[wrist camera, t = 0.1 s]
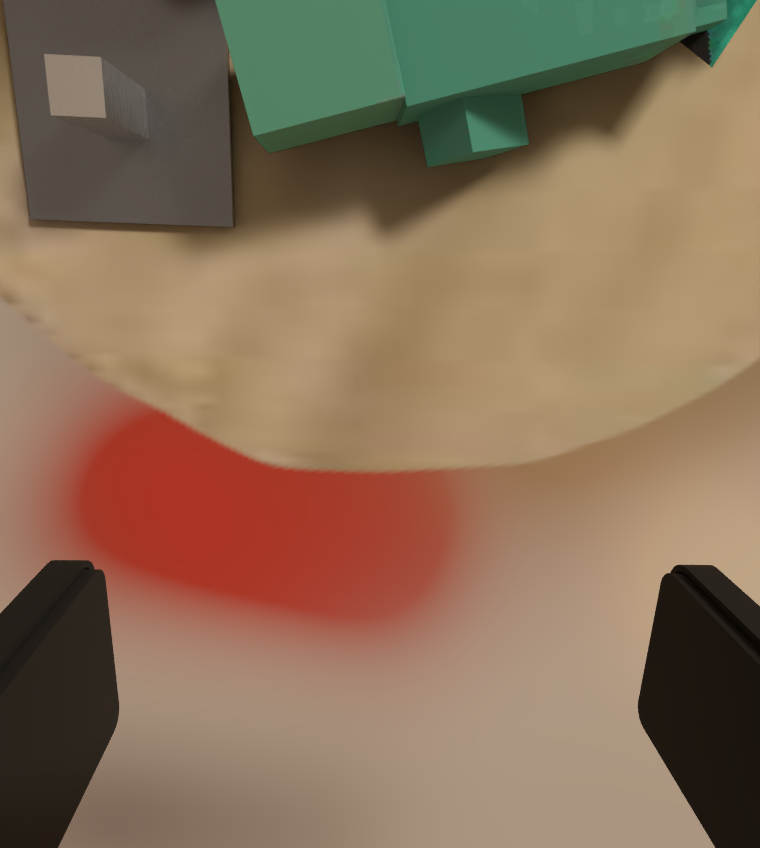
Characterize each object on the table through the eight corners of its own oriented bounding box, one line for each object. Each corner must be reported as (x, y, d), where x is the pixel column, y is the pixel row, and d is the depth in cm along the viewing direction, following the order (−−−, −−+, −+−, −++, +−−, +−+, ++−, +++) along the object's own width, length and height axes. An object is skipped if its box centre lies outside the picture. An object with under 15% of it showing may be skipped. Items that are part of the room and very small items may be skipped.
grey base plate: (7, -10, 33) (-79, -73, 27) (227, 2, 34) (196, -56, 27) (35, 219, 37) (-35, 214, 30) (234, 227, 37) (209, 223, 31)
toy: (902, 34, 28) (267, 198, 28) (763, 86, 37) (286, 209, 37) (907, -301, 24) (181, -106, 25) (751, -151, 33) (226, -11, 34)
